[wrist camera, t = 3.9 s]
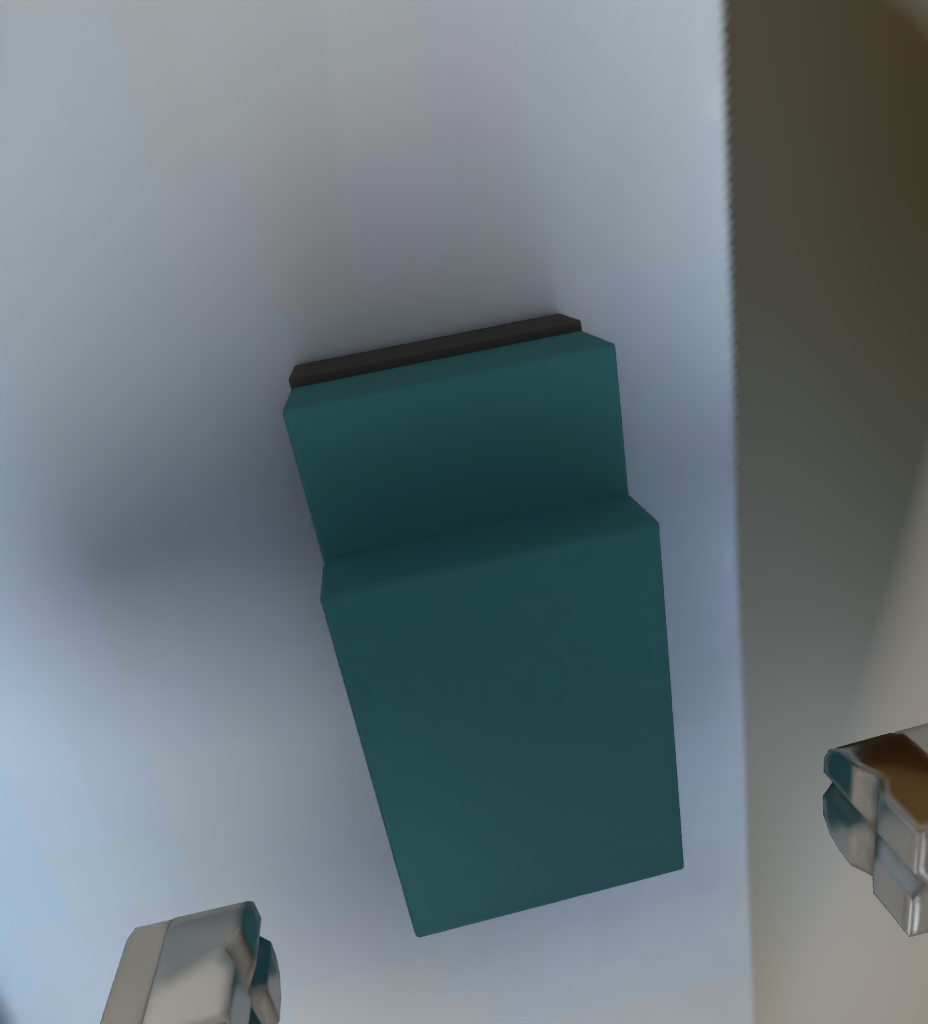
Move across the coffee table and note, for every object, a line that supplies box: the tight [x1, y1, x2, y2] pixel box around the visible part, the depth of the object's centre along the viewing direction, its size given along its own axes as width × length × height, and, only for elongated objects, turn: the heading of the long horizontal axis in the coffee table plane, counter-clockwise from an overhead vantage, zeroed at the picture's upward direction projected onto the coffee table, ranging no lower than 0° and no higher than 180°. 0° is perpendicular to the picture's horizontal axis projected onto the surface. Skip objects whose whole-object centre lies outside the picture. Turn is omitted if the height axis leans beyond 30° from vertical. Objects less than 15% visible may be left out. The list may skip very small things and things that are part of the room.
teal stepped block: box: [283, 314, 684, 937], centre depth 15 cm, size 12×6×5 cm, turn 10°
